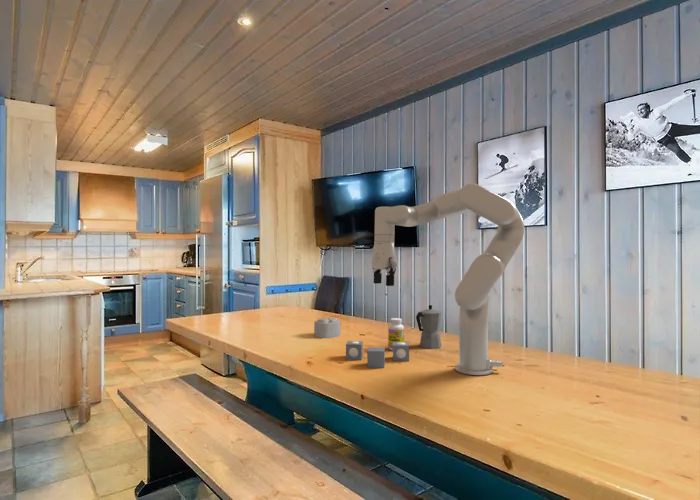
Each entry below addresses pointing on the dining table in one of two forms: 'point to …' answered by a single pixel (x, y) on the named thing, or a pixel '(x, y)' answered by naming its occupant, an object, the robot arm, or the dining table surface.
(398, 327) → the supplement bottle
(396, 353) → the badge block
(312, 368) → the dining table surface
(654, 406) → the dining table surface
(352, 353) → the badge block
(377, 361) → the plain block
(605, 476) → the dining table surface
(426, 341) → the coffeepot
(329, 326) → the lumpy-topped squat cylinder
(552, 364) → the dining table surface
